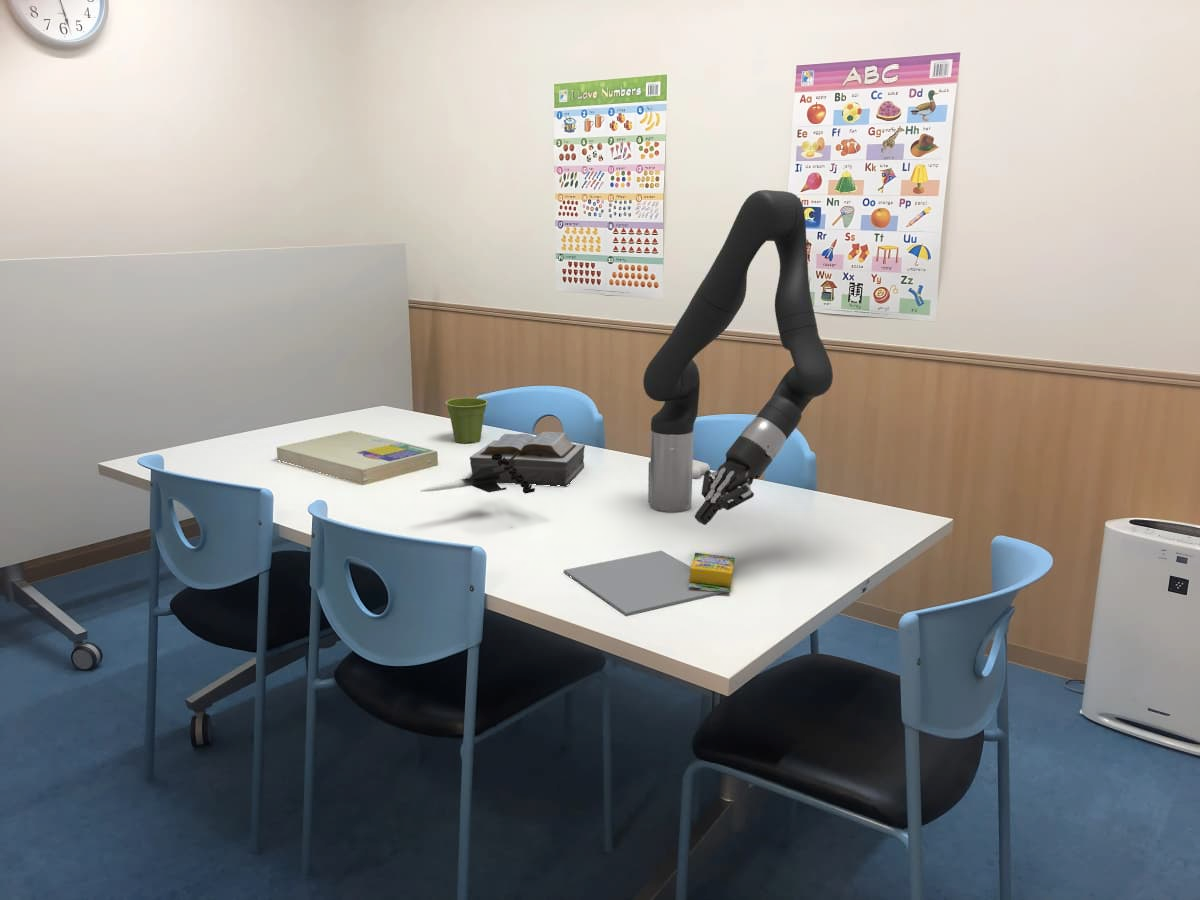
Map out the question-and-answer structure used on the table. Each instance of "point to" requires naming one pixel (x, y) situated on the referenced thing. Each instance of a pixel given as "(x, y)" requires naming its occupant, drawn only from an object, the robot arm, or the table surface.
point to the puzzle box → (358, 457)
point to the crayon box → (711, 572)
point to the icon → (699, 469)
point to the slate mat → (640, 582)
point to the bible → (534, 458)
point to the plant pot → (467, 418)
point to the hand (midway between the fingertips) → (699, 521)
